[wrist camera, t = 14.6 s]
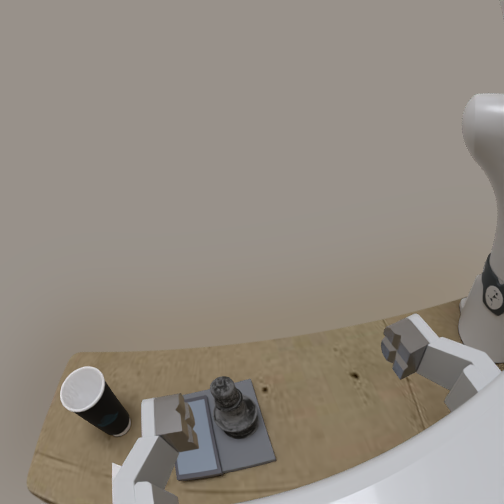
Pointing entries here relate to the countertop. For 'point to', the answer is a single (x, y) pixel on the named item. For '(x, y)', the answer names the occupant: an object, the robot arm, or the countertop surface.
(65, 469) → the countertop surface
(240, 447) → the mat
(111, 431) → the dixie cup
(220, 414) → the stone finial ornament
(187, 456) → the phone
